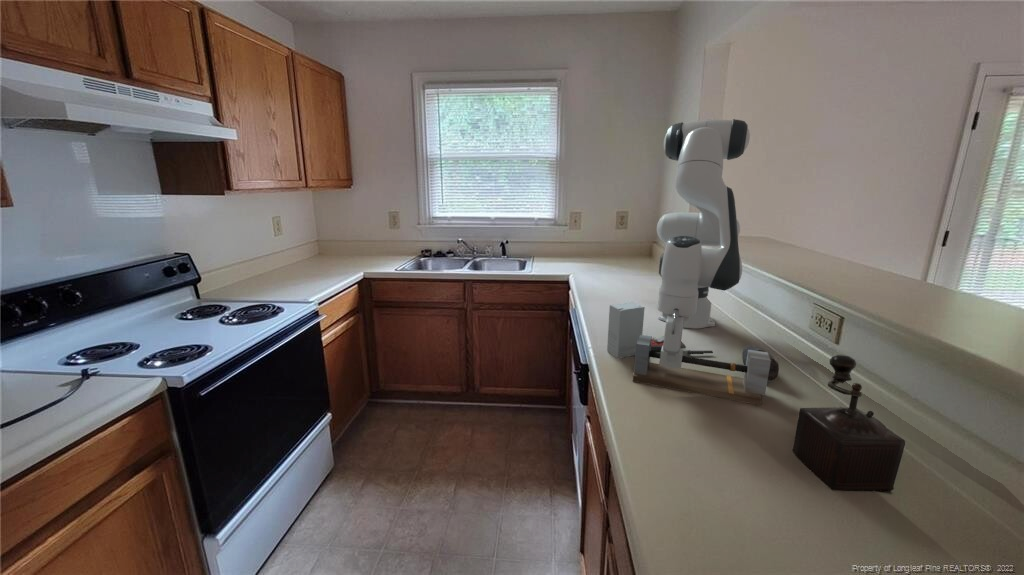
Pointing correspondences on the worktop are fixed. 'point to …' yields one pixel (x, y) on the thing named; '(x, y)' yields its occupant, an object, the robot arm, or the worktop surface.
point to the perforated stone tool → (773, 365)
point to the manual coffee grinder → (847, 441)
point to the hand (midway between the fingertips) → (671, 356)
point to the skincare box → (624, 328)
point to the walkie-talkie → (658, 343)
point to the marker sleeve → (675, 364)
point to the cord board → (705, 374)
